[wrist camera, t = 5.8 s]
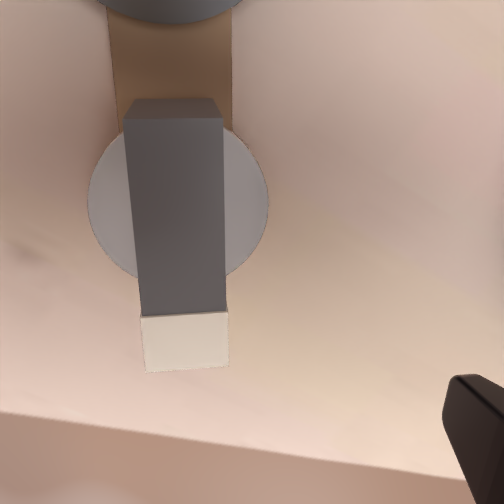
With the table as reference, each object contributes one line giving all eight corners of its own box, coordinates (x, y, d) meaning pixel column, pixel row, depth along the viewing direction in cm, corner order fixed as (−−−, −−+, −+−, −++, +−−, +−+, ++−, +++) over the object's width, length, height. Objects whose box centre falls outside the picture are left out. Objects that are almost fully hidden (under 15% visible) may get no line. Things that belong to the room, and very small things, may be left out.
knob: (78, 95, 16) (38, 121, 11) (266, 94, 17) (299, 117, 12) (105, 295, 19) (82, 378, 15) (262, 286, 20) (287, 361, 16)
